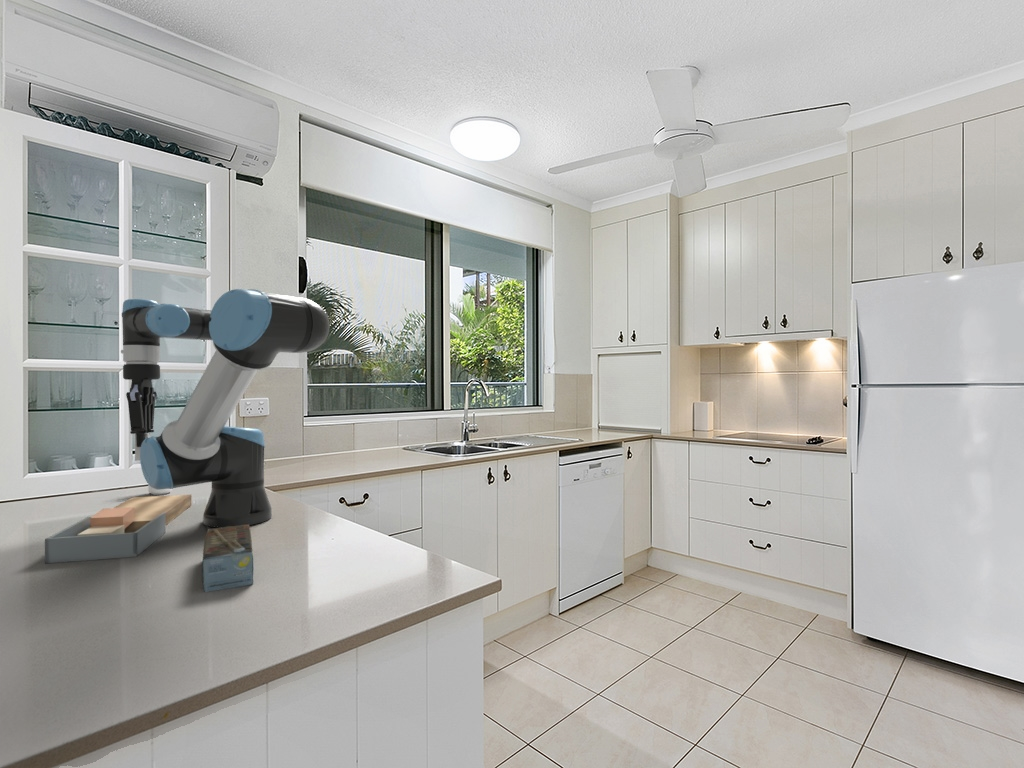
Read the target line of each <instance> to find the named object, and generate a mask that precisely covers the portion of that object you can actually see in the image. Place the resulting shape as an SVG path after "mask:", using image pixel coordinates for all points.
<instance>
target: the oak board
mask: <svg viewBox="0 0 1024 768" xmlns="http://www.w3.org/2000/svg"><path fill="white" fill-rule="evenodd" d="M191 506H192V494H177V495H153V496H152V495H151V496H135V497H131V498H129V499H127V500H125V501H124V502H121V503H120V504H118V505H116V506H114V507H113V508H126V507H134V514H135V520H134V521H133V522H132V523H131V524H130V525H129V526H127V527H126V528H125V529H124V533H129V532H136V531H137V530H139V529H140V528H141V527H143V526H144V525H146V524H147V523H149V522H150V521H151V520H153V519H154V518H156V517H157V516H159V515H160V514H161V513H165V527H166V526H167V525H168V524H169V523H171V522H172V521H173V520H174V519H176V518H177V517H179V516H180V515H181V514H182V513H184V512H186V510H188V509H189V508H190V507H191Z"/></svg>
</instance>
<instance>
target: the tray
mask: <svg viewBox="0 0 1024 768" xmlns="http://www.w3.org/2000/svg"><path fill="white" fill-rule="evenodd" d="M91 517H92V516H87V517H85V518H83V519H81V520H79V521H77V522H75V523H73V524H71V525H69V526H67V527H66V528H64V529H62V530H60V531H57V532H55V533H54V534H52V535H50V536H48V537H46V538H45V539H44V564H53V563H55V564H57V563H68V562H81V561H82V562H83V561H94V560H95V561H96V560H107V559H121V558H122V559H123V558H135V557H138V556H139V555H141V554H142V553H143V552H144V551H145V550H147V548H149V547H150V546H152V545H153V544H154V543H155V542H156V541H158V540H159V539H160V538H161V537H162V536H164V534H166V526H165V513H161V514H160V515H159V516H157V517H156V518H154V519H153V520H151V521H150V522H149V523H147V524H146V525H144V526H143V527H141V528H140V529H139V530H137V531H136V532H129V533H120V534H104V535H89V536H77V535H78V534H79V533H81V532H83V531H85V530H87V529H88V528H90V527H91V524H90V518H91Z"/></svg>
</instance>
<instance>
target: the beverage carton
mask: <svg viewBox="0 0 1024 768" xmlns="http://www.w3.org/2000/svg"><path fill="white" fill-rule="evenodd" d="M202 551H203V553H202V571H201V572H202V574H201V577H202V579H201V580H202V585H203V590H204V592H205V593H207V592H213V591H218V590H226V589H233V588H239V587H245V586H250V585H254V556H253V543H252V533H251V527H250V525H249V524H243V525H238V526H227V527H212V528H208V529H206V533H205V536H204V543H203V550H202Z"/></svg>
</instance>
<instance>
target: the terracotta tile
mask: <svg viewBox="0 0 1024 768" xmlns="http://www.w3.org/2000/svg"><path fill="white" fill-rule="evenodd" d="M90 517H91V518H90V524H91V527H95V526H112V525H124V529H125V528H126V527H127V526H129V525H130V524H131V523H132V522H133V521H134V520H135V514H134V507H126V508H114V507H110V508H102V509H100V510H99V511H98V512H96V513H95V514H93V516H90Z"/></svg>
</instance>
